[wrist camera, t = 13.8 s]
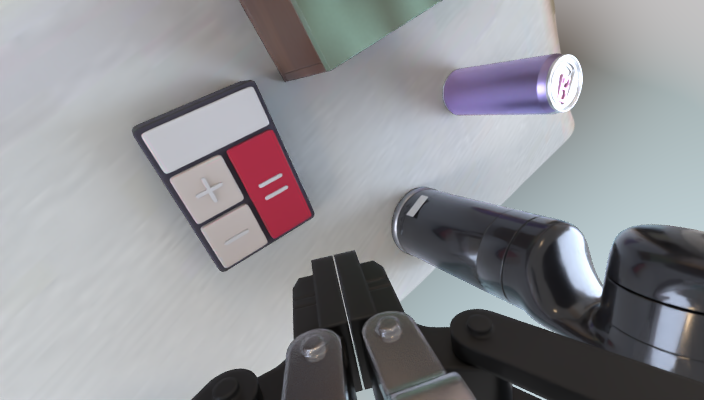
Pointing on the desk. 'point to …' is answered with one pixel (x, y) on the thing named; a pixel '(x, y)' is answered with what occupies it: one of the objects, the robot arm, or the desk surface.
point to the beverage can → (515, 87)
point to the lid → (353, 24)
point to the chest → (284, 37)
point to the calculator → (227, 171)
